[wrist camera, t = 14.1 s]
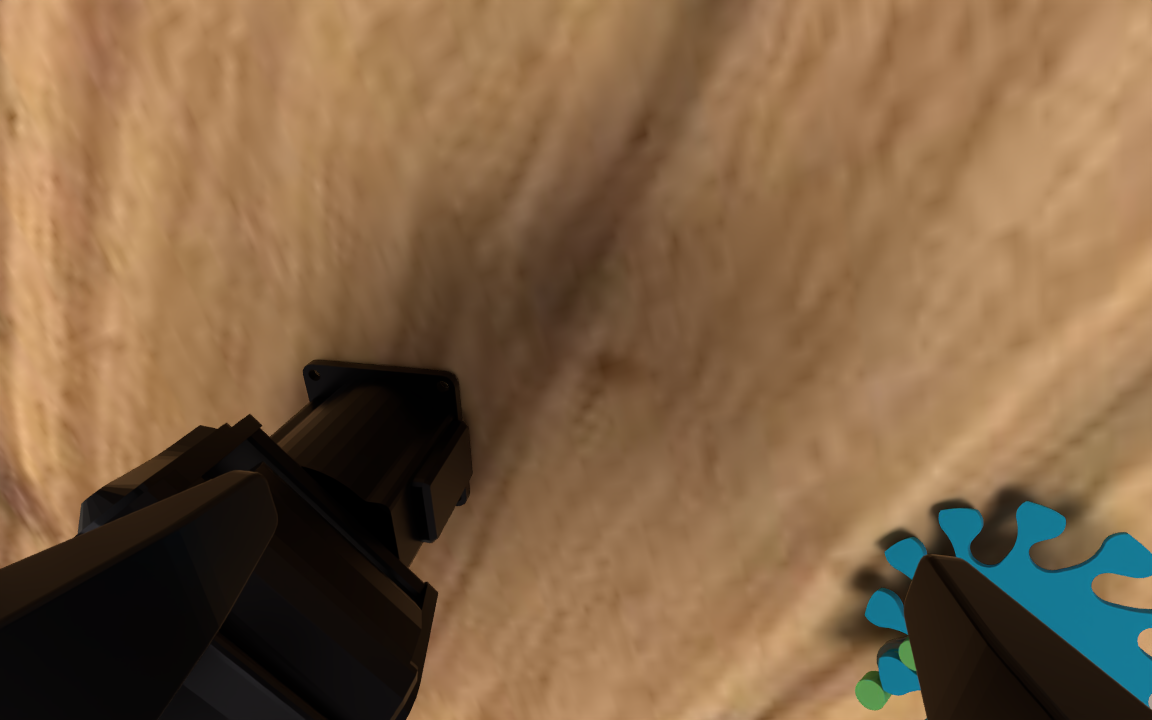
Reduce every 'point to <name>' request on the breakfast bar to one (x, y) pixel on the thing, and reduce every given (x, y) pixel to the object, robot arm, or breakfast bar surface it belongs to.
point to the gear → (1026, 601)
